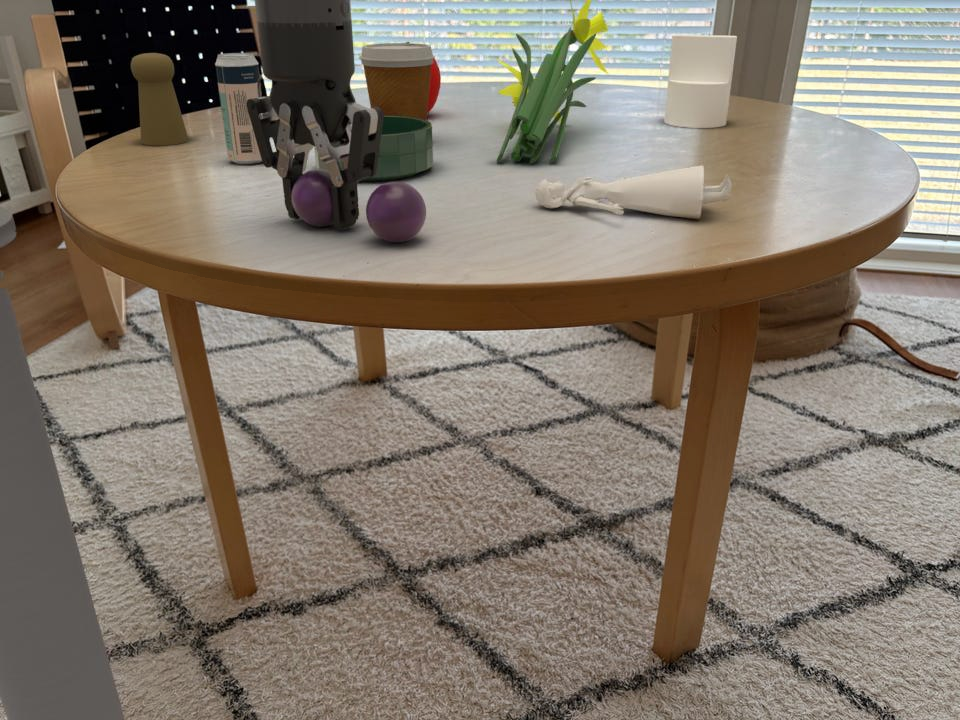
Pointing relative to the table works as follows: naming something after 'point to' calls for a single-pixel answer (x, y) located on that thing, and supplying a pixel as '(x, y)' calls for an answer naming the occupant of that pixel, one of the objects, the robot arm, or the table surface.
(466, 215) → the table surface
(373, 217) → the ball front
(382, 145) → the bowl
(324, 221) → the ball left
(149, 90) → the olive pawn
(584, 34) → the daffodil flowers
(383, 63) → the disposable coffee cup
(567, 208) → the table surface
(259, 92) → the beer can
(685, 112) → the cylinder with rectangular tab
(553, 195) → the woman figurine
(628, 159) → the table surface
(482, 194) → the table surface
